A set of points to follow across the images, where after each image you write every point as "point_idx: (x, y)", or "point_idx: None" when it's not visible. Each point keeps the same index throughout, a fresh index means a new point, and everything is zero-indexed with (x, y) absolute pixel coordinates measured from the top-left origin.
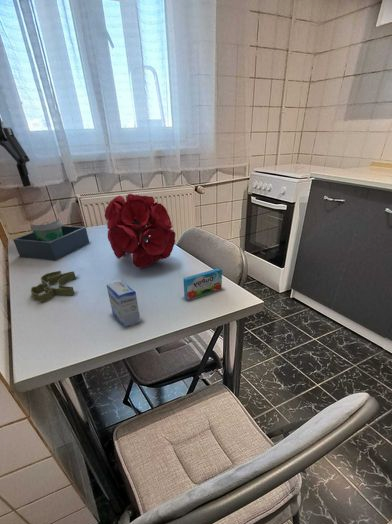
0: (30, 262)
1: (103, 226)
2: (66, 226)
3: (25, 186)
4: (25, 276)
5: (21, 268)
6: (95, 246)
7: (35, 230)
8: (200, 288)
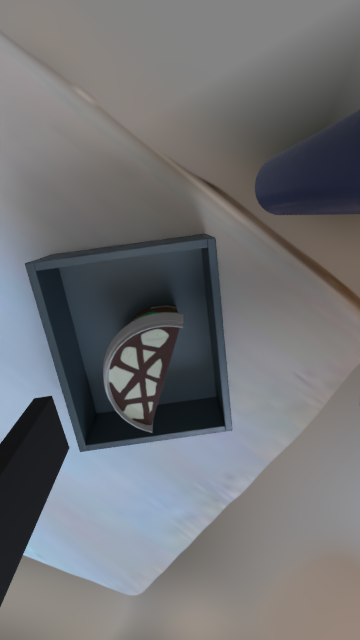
0: (115, 205)
1: (186, 538)
2: (159, 434)
3: (33, 401)
4: (3, 93)
5: (91, 147)
6: None
7: (154, 314)
8: None
